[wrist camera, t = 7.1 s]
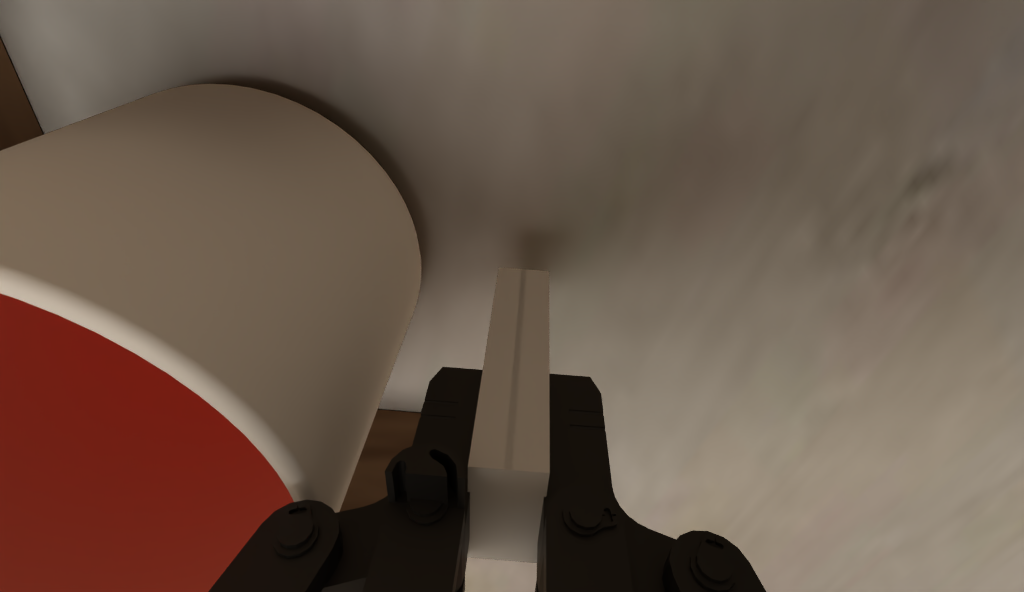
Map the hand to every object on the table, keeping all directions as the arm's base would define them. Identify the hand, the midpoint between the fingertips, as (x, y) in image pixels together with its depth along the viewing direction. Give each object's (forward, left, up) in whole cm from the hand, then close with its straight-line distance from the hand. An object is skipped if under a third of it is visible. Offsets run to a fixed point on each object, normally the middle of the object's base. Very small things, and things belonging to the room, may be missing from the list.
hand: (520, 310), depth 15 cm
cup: (0, -8, -3) cm, 9 cm away
